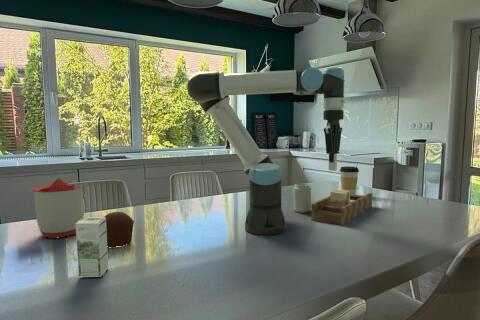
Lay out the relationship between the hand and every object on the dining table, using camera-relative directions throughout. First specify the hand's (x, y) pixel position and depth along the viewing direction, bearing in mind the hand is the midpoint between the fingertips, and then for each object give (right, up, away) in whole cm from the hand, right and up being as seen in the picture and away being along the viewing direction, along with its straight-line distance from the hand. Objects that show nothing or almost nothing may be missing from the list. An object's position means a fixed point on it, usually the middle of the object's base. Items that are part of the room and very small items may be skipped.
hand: (332, 170), depth 134 cm
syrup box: (-74, -26, -45) cm, 91 cm away
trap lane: (+8, -19, +13) cm, 24 cm away
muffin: (-76, -23, -22) cm, 83 cm away
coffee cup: (+22, -15, +48) cm, 55 cm away
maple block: (+6, -15, +9) cm, 18 cm away
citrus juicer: (-99, -22, -11) cm, 103 cm away
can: (-9, -19, +16) cm, 26 cm away
